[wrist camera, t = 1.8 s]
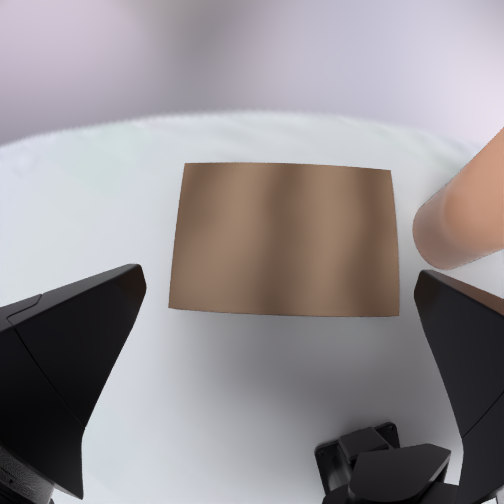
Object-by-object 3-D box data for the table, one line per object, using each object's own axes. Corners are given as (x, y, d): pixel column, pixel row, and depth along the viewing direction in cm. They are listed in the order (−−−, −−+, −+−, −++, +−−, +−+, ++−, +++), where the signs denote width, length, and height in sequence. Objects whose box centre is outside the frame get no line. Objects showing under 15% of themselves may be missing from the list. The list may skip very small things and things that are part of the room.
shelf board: (383, 181, 24) (390, 170, 23) (389, 316, 22) (399, 315, 20) (191, 174, 26) (184, 163, 24) (176, 309, 23) (168, 307, 21)
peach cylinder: (478, 258, 22) (583, 210, 10) (426, 279, 22) (537, 235, 10) (454, 194, 24) (541, 117, 11) (402, 209, 24) (485, 120, 11)
